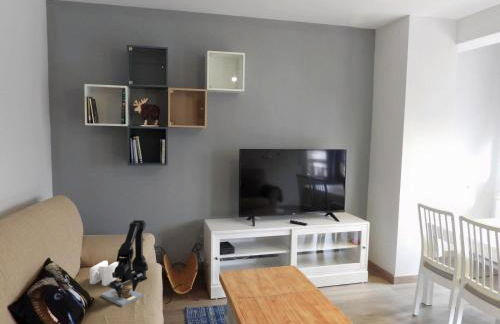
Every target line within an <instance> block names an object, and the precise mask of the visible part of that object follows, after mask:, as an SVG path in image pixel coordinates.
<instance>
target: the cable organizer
mask: <svg viewBox="0 0 500 324" xmlns="http://www.w3.org/2000/svg"><path fill="white" fill-rule="evenodd" d="M118 263H119V261H114V262H112V263H111V264H109V261H108V260H102V261H100V262H99V263H97V264H95V265H93V266H91V267H90V269H89V284H90V285H97V284H98V283H100V281H101V285H102V286H103V287H104V286H105V287H107V286H109V284H110V282H112V281H115V280H117V279H118V278H113V277H112V273H113V272H114V270H115V268H116V267H117V266H118Z"/></svg>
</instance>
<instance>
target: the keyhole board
mask: <svg viewBox="0 0 500 324" xmlns="http://www.w3.org/2000/svg"><path fill="white" fill-rule="evenodd" d="M123 285H124V284H122V286H123ZM122 286H121V287H122ZM115 292H116V290H115V289H113V288H111V289H109V290H107V291H105V292H103V293H100V296H101V297H102V298H104V299H106V300H108V301H110V302H112V303H114V304H116V305H118V306H120V307H125V306H128V305H129V304H131V303H133V302H135V301H137V300H139V299H142V298H143V297H144V294H143V293H141V292H139V291H136V290H135V291H133V289H131V290H130V298H128V299H125V298H124V296H123V297H122V296H121V298H119V296H118V294H116V293H117V292H116V293H115ZM122 292H123V293H122V294H124V291H122ZM113 293H114V294H113Z"/></svg>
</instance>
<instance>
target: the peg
mask: <svg viewBox="0 0 500 324" xmlns="http://www.w3.org/2000/svg"><path fill="white" fill-rule="evenodd" d="M122 285H123V286H122V291H124V293H123V298H125V299H128V298H130V290H131V289H132V283H130V284H129V283H124V284H122ZM132 290H133V289H132Z"/></svg>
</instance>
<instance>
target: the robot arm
mask: <svg viewBox="0 0 500 324" xmlns="http://www.w3.org/2000/svg"><path fill="white" fill-rule="evenodd" d="M146 226H147V222H146V221H145V220H144V219H138V220H137V219H134V220H133V221H131V222H130V223H129V229H128V231H127V235H126V237H125V241H124V242H123V243H122V244H121V245H120V246H119V249H118V251H117V256H116V261H115V262H118V266H117V267H116V268H115V270H114V272H113V273H112V277H113V278H117V279H118V280H117V279H116V280H115V281H112V282H110V284H108V287H109V288H111V289H115V290H116V293H117V294H116V295H118V296H119V298H121V297H122V294H123V293H122V287H121V286H122V285H124V284H126V283H127V282H130V281H131V285H132V290H133V291H136V288H137V287H138V284H139V283H141V282H143V281H145V280H147V279H148V277H147V271H148V270H149V265H148V263H147V260H146V257H145V256H144V237H143V233H144V232H145V230H146ZM134 245H135V246H134ZM133 246H134V247H133ZM134 249H135V250H134ZM134 254H135V256H134ZM133 258H134V259H133Z"/></svg>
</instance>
